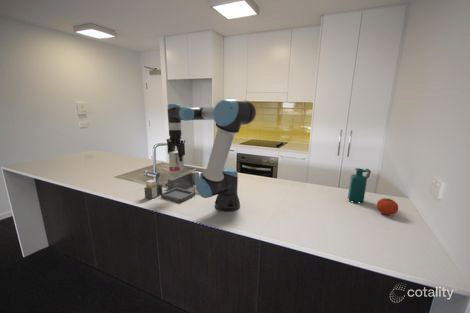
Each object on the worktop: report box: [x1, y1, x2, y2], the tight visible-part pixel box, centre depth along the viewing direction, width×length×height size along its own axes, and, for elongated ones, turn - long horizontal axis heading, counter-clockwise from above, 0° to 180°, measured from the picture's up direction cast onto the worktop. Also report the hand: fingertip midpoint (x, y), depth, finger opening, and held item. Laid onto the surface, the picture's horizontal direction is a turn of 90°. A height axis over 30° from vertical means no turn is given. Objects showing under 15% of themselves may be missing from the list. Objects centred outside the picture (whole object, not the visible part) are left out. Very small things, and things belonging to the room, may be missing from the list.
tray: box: [160, 186, 196, 204], centre depth 144 cm, size 17×14×3 cm
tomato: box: [376, 197, 399, 216], centre depth 124 cm, size 10×10×10 cm
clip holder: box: [144, 178, 175, 200], centre depth 147 cm, size 5×21×11 cm, turn 151°
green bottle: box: [347, 167, 372, 204], centre depth 140 cm, size 10×8×22 cm
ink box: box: [168, 150, 185, 172], centre depth 139 cm, size 9×5×12 cm, turn 151°
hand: (176, 165), depth 140 cm, fingers closed on ink box, 5 cm apart
